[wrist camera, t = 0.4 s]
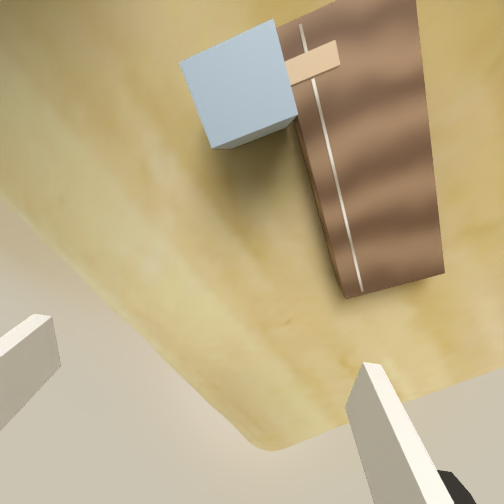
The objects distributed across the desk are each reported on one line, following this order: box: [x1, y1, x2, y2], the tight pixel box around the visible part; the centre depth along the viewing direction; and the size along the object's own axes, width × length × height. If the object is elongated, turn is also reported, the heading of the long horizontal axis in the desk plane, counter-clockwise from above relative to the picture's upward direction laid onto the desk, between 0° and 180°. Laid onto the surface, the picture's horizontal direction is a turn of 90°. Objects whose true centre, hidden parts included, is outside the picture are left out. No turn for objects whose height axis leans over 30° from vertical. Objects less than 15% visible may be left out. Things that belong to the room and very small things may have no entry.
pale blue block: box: [179, 19, 340, 149], centre depth 24 cm, size 6×11×12 cm, turn 110°
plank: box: [276, 0, 445, 299], centre depth 29 cm, size 30×12×4 cm, turn 20°
